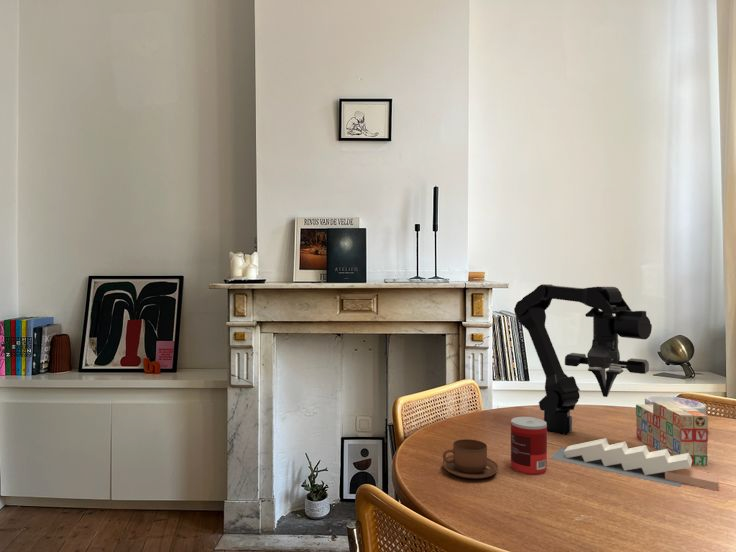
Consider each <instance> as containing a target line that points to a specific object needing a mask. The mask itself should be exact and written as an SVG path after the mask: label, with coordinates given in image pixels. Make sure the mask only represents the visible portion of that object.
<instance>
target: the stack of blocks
mask: <svg viewBox="0 0 736 552" xmlns="http://www.w3.org/2000/svg"><path fill="white" fill-rule="evenodd" d="M635 415H636V421H635V423H636V438H637V439H638V440H640V441H641V442H642V443H644V444H645V445H646V446H647V447H651V448H652V447H653V448H654V449H656V451H659V450H664V449H667V450H668V452H669V454H670V456H674V455H680V454H685V453H689V454H690V457H691V459H692V464H691V466H708V463H709V461H708V459H709V458H708V442H709V415H707V414H706V415H705V414H703V413H701V412H700V411H698V410H696V409H693V408H690V407H688V406H686V405H683V404H681V403H679V402H653V405H645V404H640V403H638V404H635Z"/></svg>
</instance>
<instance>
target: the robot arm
mask: <svg viewBox="0 0 736 552" xmlns="http://www.w3.org/2000/svg"><path fill="white" fill-rule="evenodd" d="M553 299H554V300H559V301H567V302H568V301H569V302H576V303H577V302H578V303H581V304H583V305H585V306H587V307H589V308H591V309H590V310H589V311H588V312H587V313H585V317H587V318H593V319H592V323H593V325H592V332H593V334H592V338H593V339H592V342H591V343H592V344H591V347H590V349H589V350H588V352H587V353H586V354H585V353H577V352H571V353H568V354H566V355H565V356H564V366H567V367H568V366H569V367H578V366H579V365H588V368H587V371H588V372H591V373H592V374H593V375H594V377H595V378H596V380H597V384H598V387H599V388H600V391H601V394H602V397H603V398H607V397H608V396H609V394H610V391H611V389H612V386H613V384H614V381H615V379H616V377H618V375H620V374H622V373H623V372H624V369H626V370H627V371H628V372H629V373H631V374H641V375H642V374H643V375H645V374H647V373H648V372H649V370H650V364H649V361H648V360H647V359H641V358H633V357H632V358H630V359H627V360H621V357H620V356H621V354H620V350H619V337H621V338H628V339H636V340H637V339H638V340H645V341H646V340H647V339H649V338H650V336H651V333H652V329H653V325H652V324H651V320H650V318H649V316H647V311H646V310H632V309H631V308H630V306H629V305H628V304H627V302H626V301H625V299H624V298H623V295H622V292H621V291H620V290H619V288H617V287H615V286H592V287H591V286H590V287H585V288H584V287H581V288H580V287H573V286H572V287H571V286H564V285H563V286H560V285H553V284H548V283H547V284H544V283H542V284H540V285H538V286H537V287H536V288H535V289H534V290H532V291H531V292H529V293H528V294H527V295H526V294H525V296H524V297H522V299H520V300H519V301H517V302H516V304H515V307H514V310H513V311H514V315H515V316H516V318H517V321H518V322H519V324H520V325H522V327H523V328H525V329H526V331H528V334H529V336H530V339H531V342H532V344H533V347H534V349H535V353H536V355H537V357H538V359H539V362H540V365H541V368H542V370H543V373H544V376H545V383H544V390H545V396H544V397H543V398H541V400H540V401H538V406H539V409H540V410H539V411H543V416H544V417H543V420H544V421H545V422H546V423H547V433H552V434H558V435H562V436H567V435H568V434H570V433H571V432H573V417H572V415H571V411H574V410H575V407H576V405H577V404H578V402H579V399H580V391H581V390H580V388H579V387H578V384H577V382H576V379H575V377H574V376H568V375H567V374H566V373H565V372H564V371H563V367H562V365H561V363H560V360H559V358H558V355H557V352H556V350H555V348H554V346H553V343H552V340H551V338H550V336H549V333H548V331H547V328H546V320H547V315H546V311H547V309H548V308H549V307H550V306H551V302H552V301H553ZM606 369H607V370H606Z"/></svg>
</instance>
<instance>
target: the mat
mask: <svg viewBox="0 0 736 552" xmlns="http://www.w3.org/2000/svg"><path fill="white" fill-rule="evenodd" d="M566 448H567V447H563V446H561V447H559V448H558V450H557V451H556V452H555V453H553V455H552V456H550V458H549V459H550V460H555V461H559V462H560V461H561V462H564V463H568V464H571V465H572V464H574V465H579V466H582V467H585V468H586V467H587V468H591V469H596V470H600V471H605V472H610V473H615V474H619V475H623V476H627V477H632V478H637V479H642V480H645V481H646V480H647V481H651V482H655V483H659V484H664V485H669V486H673V487H678V488H682V484H683V483H680V482H675V481H671V480H666V479H665V472H661V473H655V474H649V475H645V474H644V472H643V470H642V468H637V469H631V470H625V471H624V469H623V467H622V464H621V463H620V464H614V465H609V466H604V464H603V462H602V460H601V459H599V460H594V461H588V462H584V459H583V457H582V455H580V456H575V457H570V458H566V456H565V454H564V450H565V449H566Z"/></svg>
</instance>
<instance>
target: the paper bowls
mask: <svg viewBox="0 0 736 552" xmlns="http://www.w3.org/2000/svg"><path fill="white" fill-rule="evenodd" d="M653 402H679V403H681V404H683V405H686V406H688V407H690V408H693V409H696V410H698V411H700V412H701V413H703V414H705V415H707V406H706V404H705V403H702V402H701V401H698V400H697V401H696V400H693V399H689V398H683V397H678V396H677V397H676V396H668V395H648V396H645V398H644V405H653Z"/></svg>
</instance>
